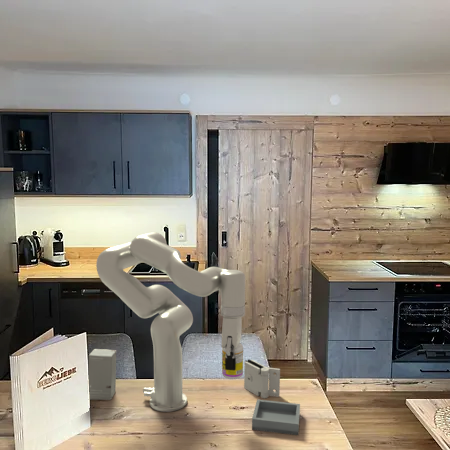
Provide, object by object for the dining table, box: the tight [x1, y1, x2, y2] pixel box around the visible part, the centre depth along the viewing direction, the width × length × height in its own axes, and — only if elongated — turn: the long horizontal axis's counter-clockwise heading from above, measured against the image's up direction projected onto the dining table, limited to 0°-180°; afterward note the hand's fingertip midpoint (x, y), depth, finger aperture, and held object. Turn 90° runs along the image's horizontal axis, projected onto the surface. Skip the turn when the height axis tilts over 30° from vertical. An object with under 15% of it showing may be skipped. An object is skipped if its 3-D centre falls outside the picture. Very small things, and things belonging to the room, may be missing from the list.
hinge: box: [243, 358, 281, 399], centre depth 161 cm, size 14×5×10 cm, turn 51°
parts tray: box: [251, 398, 301, 436], centre depth 143 cm, size 14×12×4 cm
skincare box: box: [87, 348, 117, 401], centre depth 158 cm, size 8×7×16 cm
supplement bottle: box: [221, 340, 244, 380], centre depth 144 cm, size 7×7×13 cm
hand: (232, 364), depth 144 cm, fingers closed on supplement bottle, 6 cm apart
